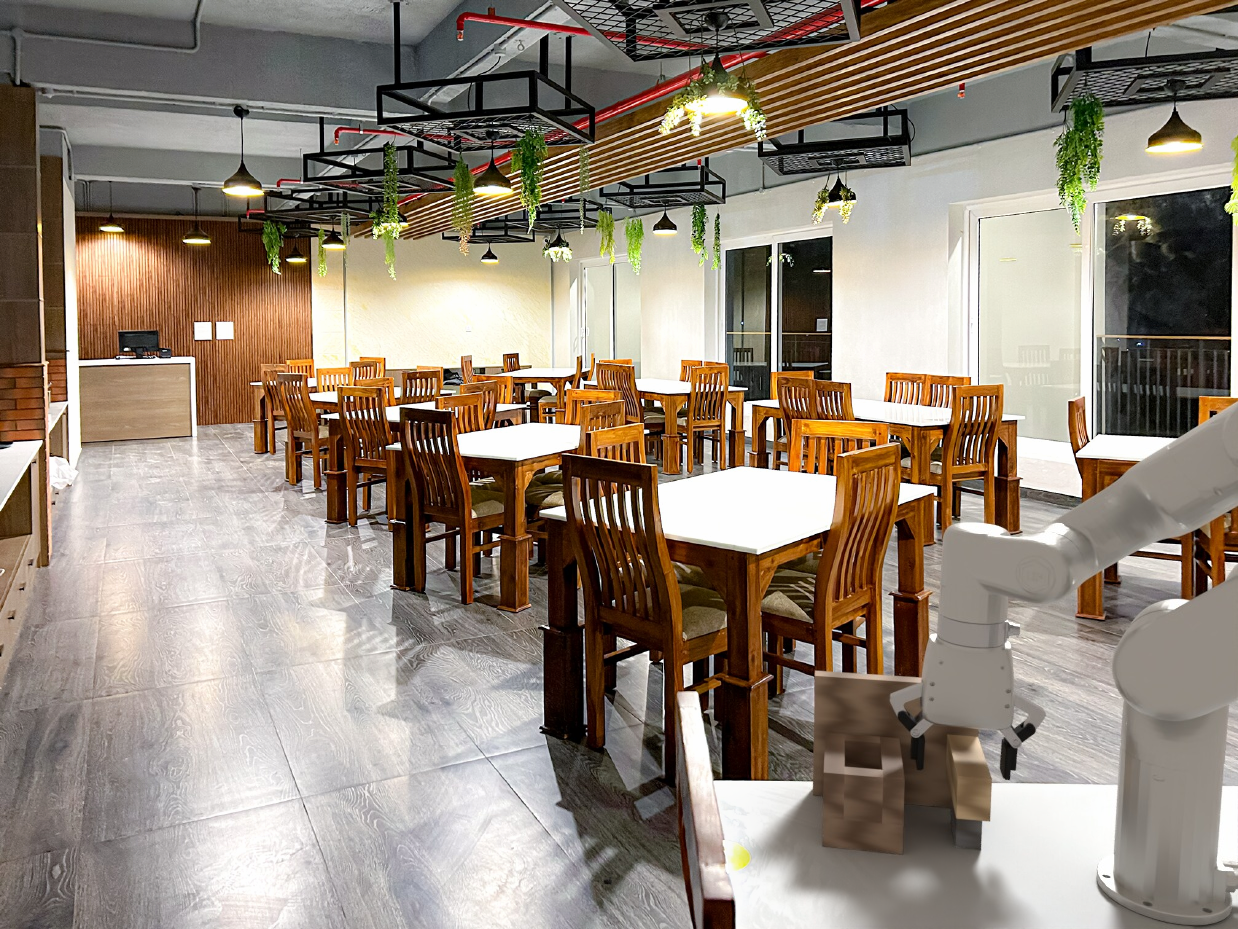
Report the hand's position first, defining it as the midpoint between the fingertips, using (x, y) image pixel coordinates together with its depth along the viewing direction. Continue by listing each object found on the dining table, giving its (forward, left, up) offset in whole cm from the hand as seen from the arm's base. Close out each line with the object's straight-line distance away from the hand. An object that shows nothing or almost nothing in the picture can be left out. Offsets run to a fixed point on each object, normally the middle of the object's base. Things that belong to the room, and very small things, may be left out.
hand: (961, 770), depth 116 cm
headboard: (+7, -1, -8) cm, 11 cm away
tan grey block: (-1, 0, -8) cm, 8 cm away
